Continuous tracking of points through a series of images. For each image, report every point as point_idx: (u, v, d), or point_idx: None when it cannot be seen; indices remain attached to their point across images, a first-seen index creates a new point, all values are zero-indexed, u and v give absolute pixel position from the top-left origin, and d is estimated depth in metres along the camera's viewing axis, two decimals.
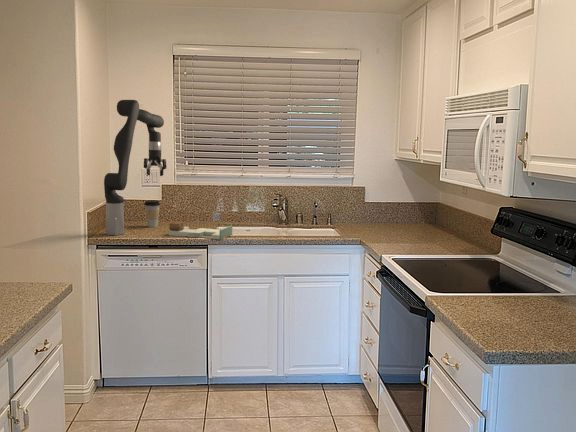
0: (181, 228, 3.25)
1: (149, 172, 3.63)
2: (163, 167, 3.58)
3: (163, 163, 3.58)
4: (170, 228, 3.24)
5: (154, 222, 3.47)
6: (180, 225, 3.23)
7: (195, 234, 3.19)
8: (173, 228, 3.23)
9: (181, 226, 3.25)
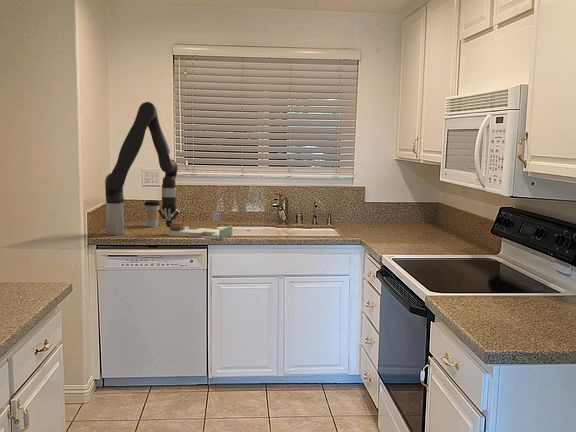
0: (181, 228, 3.25)
1: None
2: (172, 218, 3.25)
3: (175, 214, 3.24)
4: (170, 228, 3.24)
5: (154, 222, 3.47)
6: (180, 225, 3.23)
7: (195, 234, 3.19)
8: (174, 228, 3.23)
9: (182, 226, 3.25)
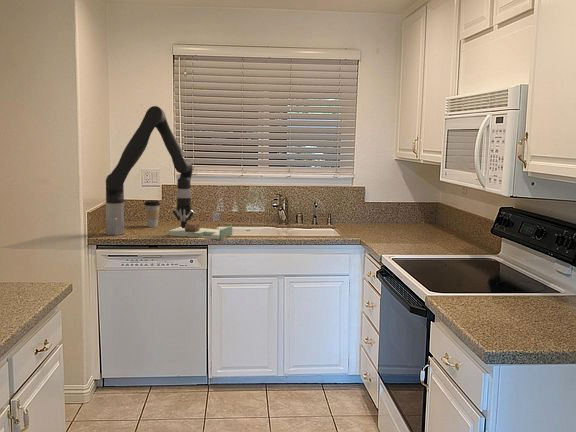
0: (197, 229, 3.22)
1: None
2: (187, 218, 3.23)
3: (190, 215, 3.22)
4: (185, 229, 3.22)
5: (154, 222, 3.47)
6: (196, 226, 3.21)
7: (195, 234, 3.19)
8: (189, 229, 3.21)
9: (197, 227, 3.23)
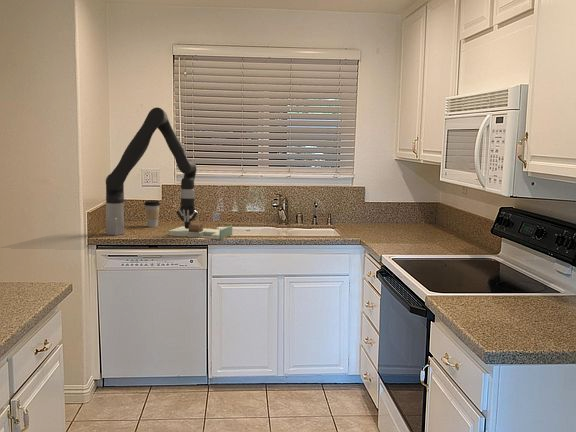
0: (200, 229, 3.22)
1: None
2: (191, 219, 3.22)
3: (193, 216, 3.21)
4: (189, 229, 3.21)
5: (154, 222, 3.47)
6: (199, 226, 3.20)
7: (195, 234, 3.19)
8: (192, 229, 3.20)
9: (200, 228, 3.22)
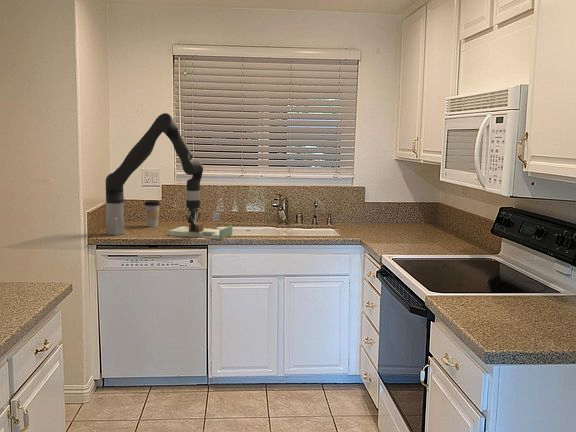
0: (200, 229, 3.22)
1: None
2: None
3: None
4: (189, 229, 3.21)
5: (154, 222, 3.47)
6: (200, 226, 3.21)
7: (195, 234, 3.19)
8: None
9: (201, 228, 3.22)
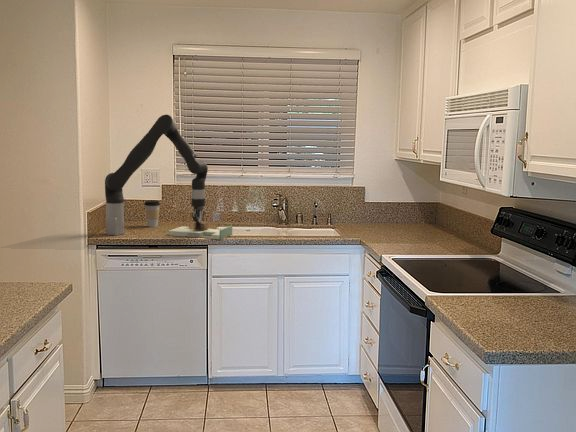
0: (206, 228, 3.28)
1: None
2: (194, 219, 3.21)
3: None
4: (195, 228, 3.27)
5: (154, 222, 3.47)
6: (205, 225, 3.27)
7: (195, 234, 3.19)
8: None
9: (206, 226, 3.28)
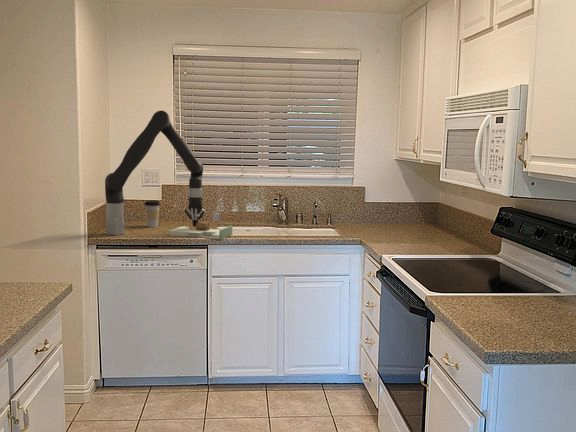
0: (208, 228, 3.29)
1: None
2: (198, 217, 3.29)
3: (201, 214, 3.29)
4: (197, 228, 3.28)
5: (154, 222, 3.47)
6: (207, 225, 3.27)
7: (195, 234, 3.19)
8: (200, 228, 3.27)
9: (208, 226, 3.29)
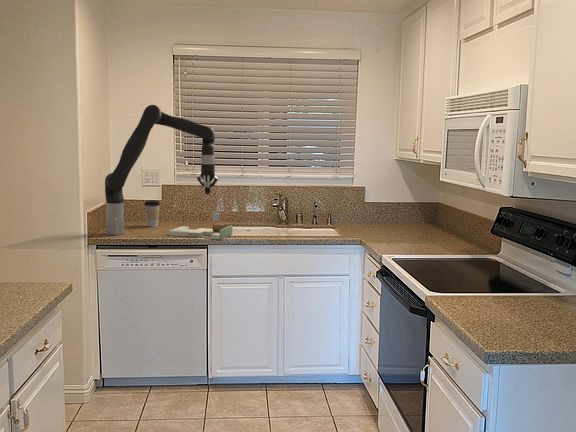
0: None
1: None
2: (211, 184, 3.29)
3: (214, 181, 3.28)
4: (213, 229, 3.25)
5: (154, 222, 3.47)
6: (223, 226, 3.25)
7: (195, 234, 3.19)
8: (217, 229, 3.25)
9: None
